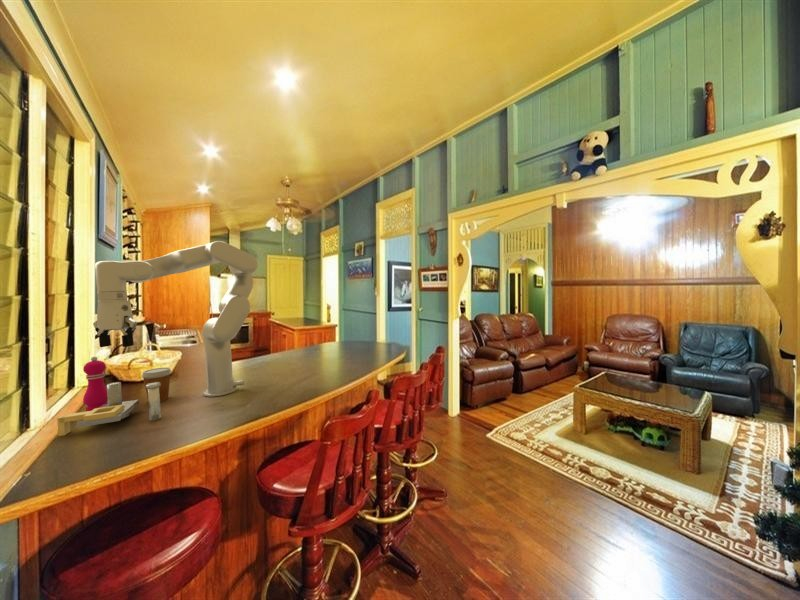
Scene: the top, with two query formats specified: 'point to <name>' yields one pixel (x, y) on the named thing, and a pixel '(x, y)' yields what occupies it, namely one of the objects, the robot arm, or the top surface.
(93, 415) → the bracket
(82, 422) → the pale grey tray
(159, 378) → the disposable coffee cup
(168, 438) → the top surface
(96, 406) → the pepper mill
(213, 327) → the robot arm
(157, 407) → the steel pin
